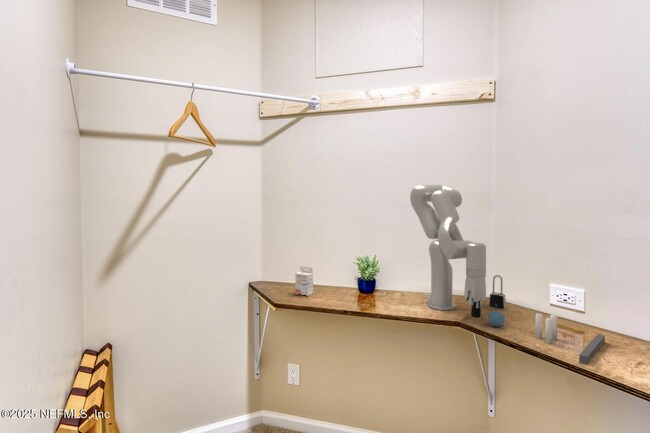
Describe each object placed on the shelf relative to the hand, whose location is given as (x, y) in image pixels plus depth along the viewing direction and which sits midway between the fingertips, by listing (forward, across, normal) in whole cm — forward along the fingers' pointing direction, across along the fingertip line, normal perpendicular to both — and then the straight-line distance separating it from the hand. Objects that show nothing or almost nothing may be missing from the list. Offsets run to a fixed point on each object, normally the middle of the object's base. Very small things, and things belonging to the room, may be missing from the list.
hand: (475, 316), depth 144 cm
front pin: (+2, 0, +23) cm, 23 cm away
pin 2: (+2, -3, +27) cm, 27 cm away
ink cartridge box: (+1, +28, -80) cm, 85 cm away
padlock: (+2, -25, -2) cm, 25 cm away
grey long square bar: (+2, 0, +39) cm, 39 cm away
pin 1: (+2, +2, +27) cm, 27 cm away
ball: (-1, 0, +8) cm, 8 cm away
